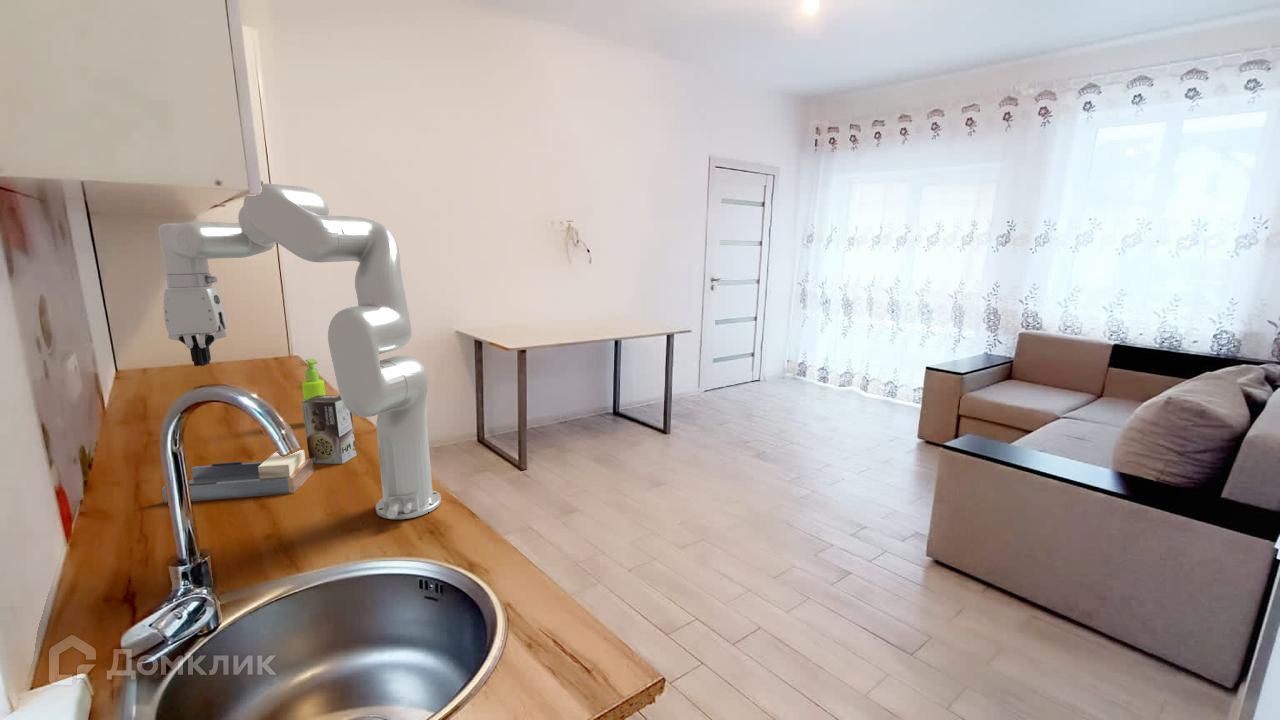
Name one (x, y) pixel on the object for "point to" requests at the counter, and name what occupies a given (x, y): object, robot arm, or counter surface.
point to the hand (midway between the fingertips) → (202, 364)
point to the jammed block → (281, 465)
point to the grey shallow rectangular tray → (241, 481)
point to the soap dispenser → (312, 382)
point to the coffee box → (328, 430)
